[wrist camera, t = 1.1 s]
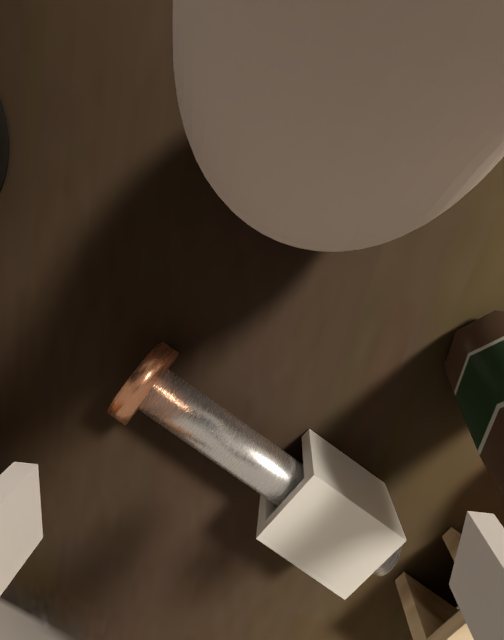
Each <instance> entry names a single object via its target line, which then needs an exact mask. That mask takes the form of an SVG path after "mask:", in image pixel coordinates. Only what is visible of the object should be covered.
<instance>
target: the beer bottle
mask: <svg viewBox="0 0 504 640" xmlns="http://www.w3.org/2000/svg"><path fill="white" fill-rule="evenodd" d="M444 366H445V370H446V374H447V377H448V379H449V382H450V384H451V387H452V389H453V392H454V394H455V397H456V399H457V401H458V404H459V406H460V409H461V411H462V414H463V416H464V419H465V421H466V423H467V426H468V428H469V431H470V433H471V436H472V438H473V441H474V443H475V445H476V448H477V450H478V453H479V455H480V457H481V459H482V461H483V463H484V465H485V466H486V468H487V470H488V472H489V474H490V476H491V477H492V479H493V481H494V482H495V484H496V485H497V486H498V488H499V489H500V491H501V492H502V494H503V495H504V312H502V311H496V310H495V311H493V312H491V313H490V314H488V315H486V316H484V317H482V318H480V319H478V320H476V321H474V322H472V323H470V324H468V325H466V326H464V327H462V328H460V329H458V330H457V331H456V332H455V335H454V338H453V341H452V344H451V347H450V350H449V353H448V356H447V359H446V362H445V365H444Z"/></svg>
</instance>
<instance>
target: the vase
mask: <svg viewBox="0 0 504 640" xmlns="http://www.w3.org/2000/svg"><path fill="white" fill-rule="evenodd" d="M173 66H174V76H175V84H176V92H177V99H178V105H179V110H180V114H181V118H182V122H183V125H184V129H185V133H186V136H187V138H188V141H189V144H190V146H191V149H192V151H193V154H194V156H195V159H196V161H197V163H198V165H199V167H200V168H201V170H202V172H203V174H204V176H205V178H206V179H207V181H208V182H209V184H210V185H211V186H212V188H213V189H214V191H215V192H216V193H217V195H218V196H219V197H220V198H221V200H222V201H223V202H224V203H225V204H226V205H227V206H228V207H229V208H230V209H231V211H232V212H233V213H235V214H236V215H237V216H238V217H239V218H240V219H242V220H243V221H244V222H245V223H246V224H248V225H249V226H251V227H252V228H254V229H255V230H257V231H259V232H260V233H262V234H263V235H265V236H268V237H270V238H272V239H274V240H276V241H278V242H281V243H284V244H287V245H290V246H293V247H297V248H302V249H307V250H313V251H328V252H340V251H350V250H359V249H364V248H368V247H372V246H377V245H380V244H383V243H386V242H389V241H391V240H394V239H397V238H399V237H401V236H404V235H406V234H408V233H410V232H412V231H414V230H415V229H417V228H419V227H421V226H423V225H425V224H427V223H428V222H430V221H431V220H433V219H434V218H435V217H437V216H438V215H440V214H441V213H443V212H444V211H446V210H447V209H449V208H450V207H451V206H453V205H454V204H455V203H456V202H457V201H458V200H460V199H461V198H462V197H463V196H464V195H465V194H467V193H468V192H469V191H470V190H471V189H472V188H473V187H475V186H476V185H477V184H478V183H479V182H480V181H481V180H482V179H483V178H484V177H485V176H486V175H487V174H488V173H489V172H490V171H491V170H492V168H493V167H494V166H495V165H496V164H497V163H498V162H499V161H500V160H501V159H502V158H503V157H504V0H173Z"/></svg>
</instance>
